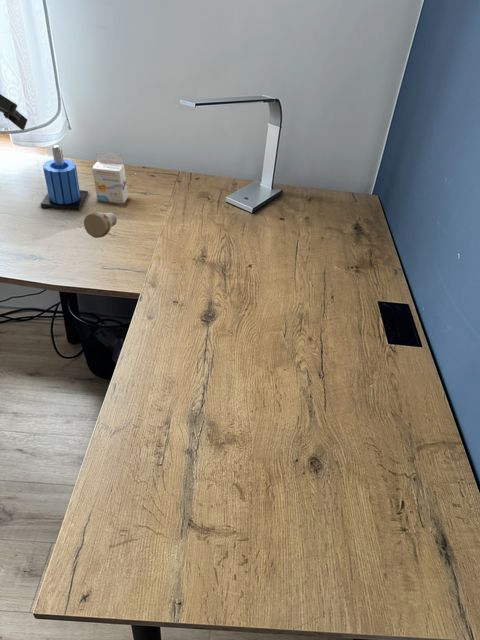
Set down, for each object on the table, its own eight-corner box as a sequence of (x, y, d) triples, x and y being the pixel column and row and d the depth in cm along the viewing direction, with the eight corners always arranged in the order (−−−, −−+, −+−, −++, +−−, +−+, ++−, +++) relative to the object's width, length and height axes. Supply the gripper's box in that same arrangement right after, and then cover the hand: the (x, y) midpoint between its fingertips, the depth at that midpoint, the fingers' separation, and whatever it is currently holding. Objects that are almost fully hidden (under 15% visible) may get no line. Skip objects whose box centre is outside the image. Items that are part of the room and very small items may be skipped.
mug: (125, 224, 149) (118, 207, 139) (106, 250, 146) (98, 234, 137) (103, 212, 149) (95, 194, 140) (84, 238, 147) (75, 221, 137)
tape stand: (41, 208, 151) (30, 150, 139) (53, 191, 159) (42, 136, 147) (78, 212, 152) (70, 155, 140) (88, 195, 160) (81, 140, 148)
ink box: (97, 203, 157) (89, 157, 146) (102, 196, 160) (94, 150, 150) (124, 206, 157) (117, 161, 146) (129, 198, 160) (122, 153, 150)
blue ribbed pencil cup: (45, 202, 151) (38, 170, 144) (54, 189, 157) (48, 157, 150) (75, 205, 151) (70, 173, 145) (83, 192, 158) (79, 160, 151)
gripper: (-126, 66, 104) (-47, 120, 125) (-26, 92, 99) (39, 144, 120) (-113, 32, 104) (-37, 92, 125) (-13, 57, 99) (49, 115, 120)
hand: (0, 118), depth 123 cm, fingers open, 13 cm apart
